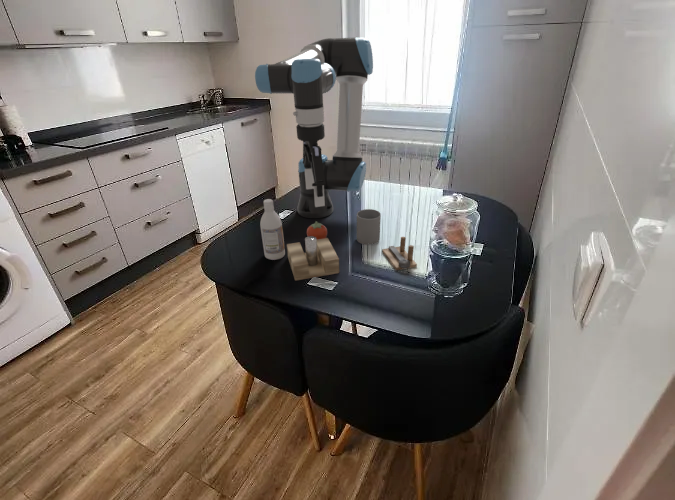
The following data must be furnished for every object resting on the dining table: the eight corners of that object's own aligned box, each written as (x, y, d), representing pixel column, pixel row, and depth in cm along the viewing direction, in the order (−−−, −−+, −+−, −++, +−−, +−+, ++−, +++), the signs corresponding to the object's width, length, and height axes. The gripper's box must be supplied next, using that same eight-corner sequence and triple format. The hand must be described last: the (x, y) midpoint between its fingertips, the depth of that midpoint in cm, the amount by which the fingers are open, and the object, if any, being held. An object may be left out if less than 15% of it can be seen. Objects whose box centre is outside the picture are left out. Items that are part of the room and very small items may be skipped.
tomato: (331, 238, 132) (330, 218, 128) (322, 248, 127) (321, 227, 123) (313, 235, 135) (312, 215, 131) (303, 244, 129) (302, 224, 125)
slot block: (288, 257, 122) (286, 244, 119) (328, 251, 125) (327, 237, 122) (295, 280, 110) (293, 266, 107) (339, 272, 113) (338, 258, 110)
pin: (305, 261, 118) (303, 237, 113) (316, 259, 119) (315, 235, 114) (308, 267, 115) (306, 242, 110) (319, 265, 116) (317, 240, 111)
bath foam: (288, 257, 122) (282, 202, 112) (268, 262, 119) (260, 206, 109) (281, 248, 127) (275, 194, 117) (262, 252, 125) (254, 198, 114)
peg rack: (382, 251, 123) (382, 236, 120) (401, 248, 125) (402, 233, 122) (397, 272, 113) (398, 255, 110) (418, 268, 114) (419, 252, 111)
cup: (378, 245, 127) (379, 220, 122) (355, 243, 129) (355, 218, 124) (380, 234, 134) (381, 209, 129) (358, 232, 136) (358, 208, 131)
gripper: (289, 115, 107) (295, 183, 118) (304, 136, 86) (310, 216, 97) (314, 113, 108) (318, 180, 119) (335, 133, 87) (337, 212, 99)
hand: (315, 196), depth 108 cm, fingers open, 13 cm apart
